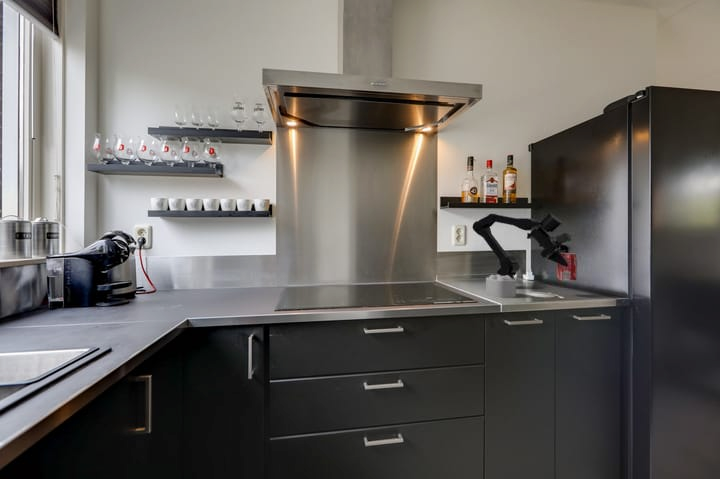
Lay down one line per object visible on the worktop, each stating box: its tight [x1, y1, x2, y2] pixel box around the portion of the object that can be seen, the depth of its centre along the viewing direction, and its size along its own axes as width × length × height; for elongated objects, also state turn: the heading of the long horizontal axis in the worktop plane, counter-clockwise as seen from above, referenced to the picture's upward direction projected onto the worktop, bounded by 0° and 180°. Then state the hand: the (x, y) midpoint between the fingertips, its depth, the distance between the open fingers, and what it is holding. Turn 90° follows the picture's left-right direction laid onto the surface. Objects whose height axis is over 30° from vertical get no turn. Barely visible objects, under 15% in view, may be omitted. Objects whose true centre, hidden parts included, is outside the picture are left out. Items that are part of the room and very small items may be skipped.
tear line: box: [547, 292, 565, 299], centre depth 137 cm, size 12×1×1 cm, turn 175°
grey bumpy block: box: [485, 274, 517, 299], centre depth 138 cm, size 10×13×9 cm
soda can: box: [556, 252, 578, 283], centre depth 136 cm, size 7×7×12 cm
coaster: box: [525, 291, 556, 299], centre depth 138 cm, size 11×11×1 cm
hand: (570, 265), depth 135 cm, fingers closed on soda can, 7 cm apart
